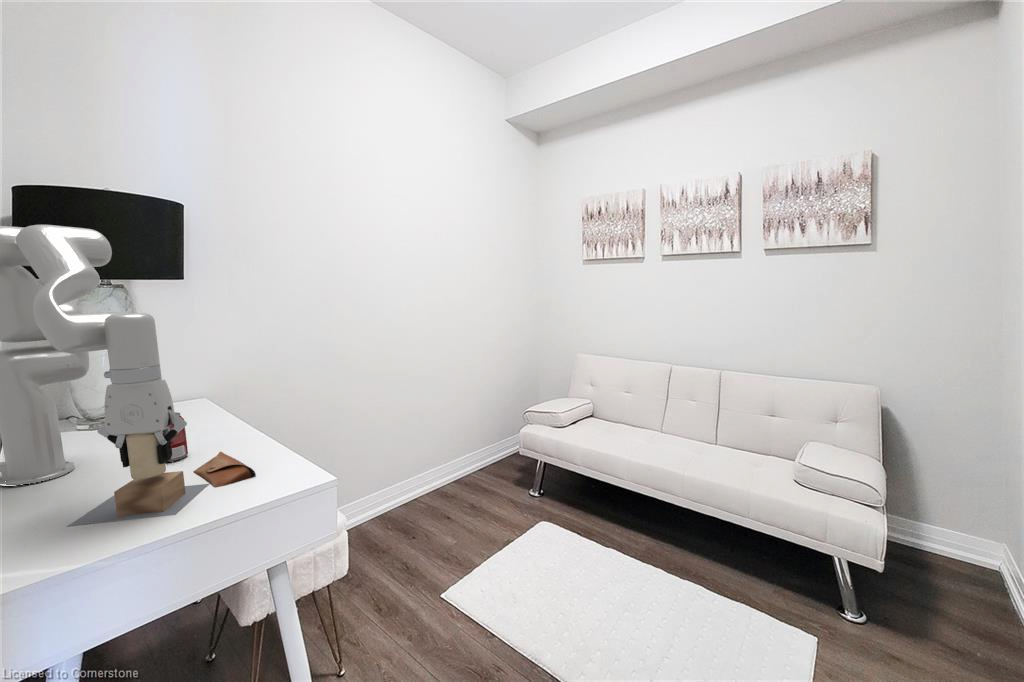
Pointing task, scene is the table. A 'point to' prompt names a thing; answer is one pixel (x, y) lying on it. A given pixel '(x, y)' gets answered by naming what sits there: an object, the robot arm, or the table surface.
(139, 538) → the table surface
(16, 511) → the table surface
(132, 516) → the mat
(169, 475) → the block
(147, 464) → the candle
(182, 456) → the soda can
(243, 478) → the sunglasses case
